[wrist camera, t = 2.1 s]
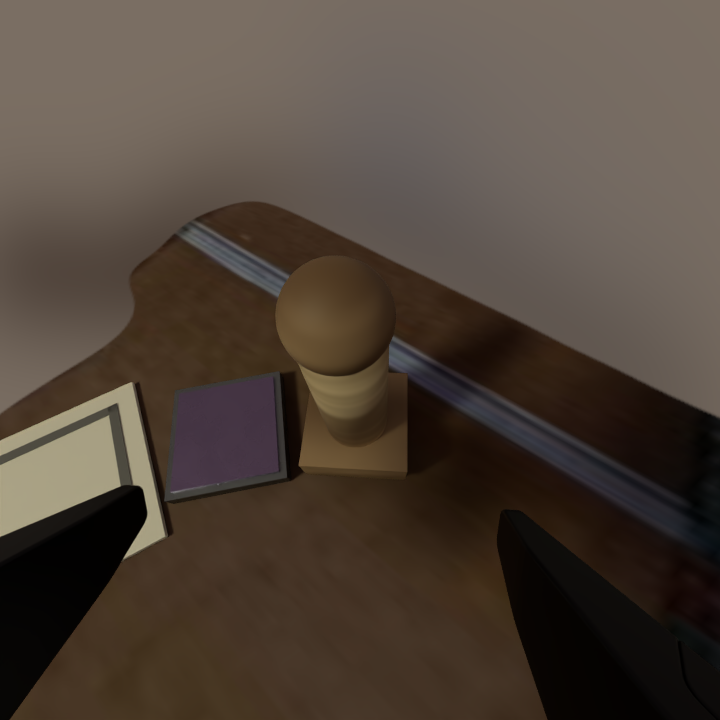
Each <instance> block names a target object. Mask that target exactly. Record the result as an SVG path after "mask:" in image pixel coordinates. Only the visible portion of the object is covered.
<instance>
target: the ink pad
mask: <svg viewBox="0 0 720 720" xmlns="http://www.w3.org/2000/svg"><path fill="white" fill-rule="evenodd" d="M288 481H291V474H290V461H289V447H288V434H287V421H286V407H285V394H284V381H283V377H282V375H281V373H280V371H279V372H273V373H268V374H262V375H257V376H251V377H246V378H241V379H235V380H230V381H224V382H219V383H213V384H208V385H202V386H197V387H192V388H186V389H181V390H175V397H174V408H173V418H172V428H171V438H170V449H169V459H168V469H167V479H166V490H165V500H164V502H168V503H173V504H175V503H180V502H185V501H190V500H196V499H201V498H206V497H211V496H216V495H221V494H226V493H231V492H237V491H242V490H247V489H252V488H257V487H262V486H267V485H272V484H278V483H283V482H288Z"/></svg>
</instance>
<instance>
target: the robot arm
mask: <svg viewBox="0 0 720 720" xmlns="http://www.w3.org/2000/svg"><path fill="white" fill-rule="evenodd" d="M147 514H148V512H147V506H146V501H145V496H144V491H143V489H142V487H140V486H138V485H122V486H120V487H118V488H115V489H113V490H110V491H108V492H106V493H103V494H101V495H98V496H96V497H94V498H91V499H89V500H87V501H84V502H82V503H79V504H77V505H75V506H72V507H70V508H68V509H65V510H63V511H60V512H58V513H56V514H53V515H51V516H49V517H46V518H44V519H41V520H39V521H37V522H34V523H32V524H29V525H27V526H25V527H22V528H20V529H18V530H15V531H13V532H10V533H8V534H6V535H3V536H1V537H0V720H10V718H11V717H12V716H13V714H14V713H15V711H16V710H17V709H18V707H19V706H20V705H21V703H22V702H23V700H24V699H25V698H26V696H27V695H28V693H29V692H30V691H31V689H32V688H33V687H34V685H35V684H36V682H37V681H38V680H39V678H40V677H41V676H42V674H43V673H44V671H45V670H46V669H47V667H48V666H49V664H50V663H51V662H52V660H53V659H54V658H55V656H56V655H57V653H58V652H59V651H60V649H61V648H62V646H63V645H64V644H65V642H66V641H67V640H68V638H69V637H70V635H71V634H72V633H73V631H74V630H75V628H76V627H77V626H78V624H79V623H80V622H81V620H82V619H83V617H84V616H85V615H86V613H87V612H88V611H89V609H90V608H91V606H92V605H93V604H94V602H95V601H96V599H97V598H98V597H99V595H100V594H101V593H102V591H103V590H104V588H105V587H106V585H107V584H108V582H109V581H110V579H111V578H112V576H113V575H114V573H115V571H116V570H117V568H118V567H119V565H120V563H121V562H122V560H123V558H124V557H125V555H126V553H127V552H128V550H129V548H130V547H131V545H132V543H133V542H134V540H135V539H136V537H137V535H138V534H139V532H140V530H141V529H142V527H143V525H144V524H145V522H146V519H147ZM497 547H498V552H499V557H500V561H501V565H502V570H503V574H504V578H505V583H506V587H507V592H508V596H509V600H510V605H511V609H512V613H513V617H514V620H515V624H516V627H517V630H518V633H519V636H520V639H521V642H522V645H523V648H524V651H525V654H526V657H527V660H528V663H529V666H530V669H531V672H532V675H533V678H534V681H535V684H536V687H537V690H538V693H539V696H540V699H541V702H542V705H543V708H544V711H545V714H546V716H547V719H548V720H720V672H719V671H718V670H717V669H715V668H714V667H713V666H712V665H710V664H709V663H708V662H707V661H705V660H704V659H703V658H702V657H700V656H699V655H698V654H697V653H696V652H694V651H693V650H692V649H691V648H689V647H688V646H687V645H686V644H684V643H683V642H681V641H679V642H678V639H677V638H676V636H674V635H673V634H672V633H671V632H669V631H668V630H667V629H666V628H664V627H663V626H662V625H661V624H660V623H658V622H657V621H656V620H655V619H653V618H652V617H651V616H650V615H648V614H647V613H646V612H645V611H644V610H642V609H641V608H640V607H639V606H637V605H636V604H635V603H634V602H632V601H631V600H630V599H629V598H628V597H626V596H625V595H624V594H623V593H621V592H620V591H619V590H618V589H616V588H615V587H614V586H613V585H612V584H610V583H609V582H608V581H607V580H605V579H604V578H603V577H602V576H600V575H599V574H598V573H597V572H596V571H594V570H593V569H592V568H591V567H589V566H588V565H587V564H586V563H584V562H583V561H582V560H581V559H579V558H578V557H577V556H576V555H575V554H573V553H572V552H571V551H570V550H568V549H567V548H566V547H565V546H563V545H562V544H561V543H560V542H559V541H557V540H556V539H555V538H554V537H552V536H551V535H550V534H549V533H547V532H546V531H545V530H544V529H543V528H541V527H540V526H539V525H538V524H536V523H535V522H534V521H533V520H531V519H530V518H529V517H528V516H527V515H525V514H524V513H523V512H521V511H519V510H507V509H504V510H502V511H501V514H500V520H499V527H498V534H497Z"/></svg>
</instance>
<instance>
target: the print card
mask: <svg viewBox="0 0 720 720" xmlns="http://www.w3.org/2000/svg"><path fill="white" fill-rule="evenodd" d="M122 485H138V486H140V487H142V489H143V491H144V496H145V501H146V506H147V512H148V514H147V519H146V522H145V524H144V525H143V527H142V529H141V530H140V532H139V534H138V535H137V537H136V539H135V540H134V542H133V543H132V545H131V547H130V548H129V550H128V552H127V553H126V555H125V557H124V558H123V560H122V561H124V560H126V559H128V558H130V557H131V556H133V555H135V554H137V553H139V552H141V551H143V550H144V549H146V548H148V547H150V546H152V545H154V544H156V543H157V542H159V541H161V540H163V539H165V538H167V537H168V533H167V529H166V524H165V520H164V515H163V511H162V506H161V502H160V497H159V492H158V488H157V483H156V479H155V474H154V470H153V465H152V461H151V456H150V451H149V447H148V442H147V438H146V433H145V429H144V424H143V420H142V415H141V411H140V406H139V401H138V397H137V392H136V388H135V384H134V383H133V382H131V383H128V384H126V385H124V386H122V387H119V388H117V389H115V390H113V391H110V392H108V393H106V394H104V395H101V396H99V397H97V398H95V399H92V400H90V401H88V402H86V403H83V404H81V405H79V406H77V407H75V408H72V409H70V410H68V411H66V412H63V413H61V414H59V415H57V416H54V417H52V418H50V419H48V420H45V421H43V422H41V423H39V424H36V425H34V426H32V427H30V428H27V429H25V430H23V431H21V432H19V433H16V434H14V435H12V436H10V437H7V438H5V439H3V440H1V441H0V537H1V536H3V535H6V534H8V533H10V532H13V531H15V530H18V529H20V528H22V527H25V526H27V525H29V524H32V523H34V522H37V521H39V520H41V519H44V518H46V517H49V516H51V515H53V514H56V513H58V512H60V511H63V510H65V509H68V508H70V507H72V506H75V505H77V504H79V503H82V502H84V501H87V500H89V499H91V498H94V497H96V496H98V495H101V494H103V493H106V492H108V491H110V490H113V489H115V488H118V487H120V486H122Z"/></svg>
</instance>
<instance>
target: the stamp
mask: <svg viewBox="0 0 720 720" xmlns="http://www.w3.org/2000/svg"><path fill="white" fill-rule="evenodd" d="M395 324H396V308H395V303H394V299H393V296H392V294H391V291H390V289H389V287H388V286H387V284H386V282H385V281H384V280H383V278H382V277H381V276H380V275H379V274H378V273H377V272H376V271H375V270H374V269H373V268H371V267H370V266H368V265H367V264H365V263H363V262H361V261H359V260H357V259H354V258H350V257H346V256H336V255H335V256H324V257H320V258H317V259H314V260H311V261H309V262H307V263H305V264H304V265H302V266H301V267H300V268H298V269H297V270H296V271H295V272H294V273H293V274H292V275H291V276H290V277H289V278H288V280H287V281H286V283H285V284H284V286H283V287H282V289H281V292H280V294H279V297H278V300H277V305H276V326H277V331H278V334H279V337H280V340H281V342H282V344H283V346H284V347H285V349H286V351H287V352H288V353H289V354H290V356H291V357H292V358H293V359H294V360H295V361H296V362H298V364H299V366H300V369H301V371H302V373H303V375H304V378H305V380H306V382H307V384H308V387H309V389H310V394H309V400H308V407H307V413H306V420H305V427H304V433H303V440H302V447H301V453H300V460H299V467H300V468H301V469H302V470H303V471H304V472H305V473H306V474H310V475H326V476H343V477H360V478H377V479H393V480H405V478H406V475H407V378H408V373H388V367H389V344H390V342H391V339H392V337H393V334H394V330H395Z"/></svg>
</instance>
